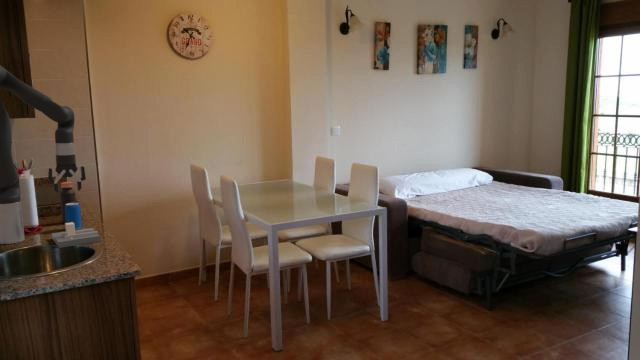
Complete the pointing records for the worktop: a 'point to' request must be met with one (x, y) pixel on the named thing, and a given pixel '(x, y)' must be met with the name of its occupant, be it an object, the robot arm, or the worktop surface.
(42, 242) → the worktop surface
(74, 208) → the beverage can
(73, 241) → the fader console
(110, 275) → the worktop surface
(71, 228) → the fader tab
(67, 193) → the bottle
